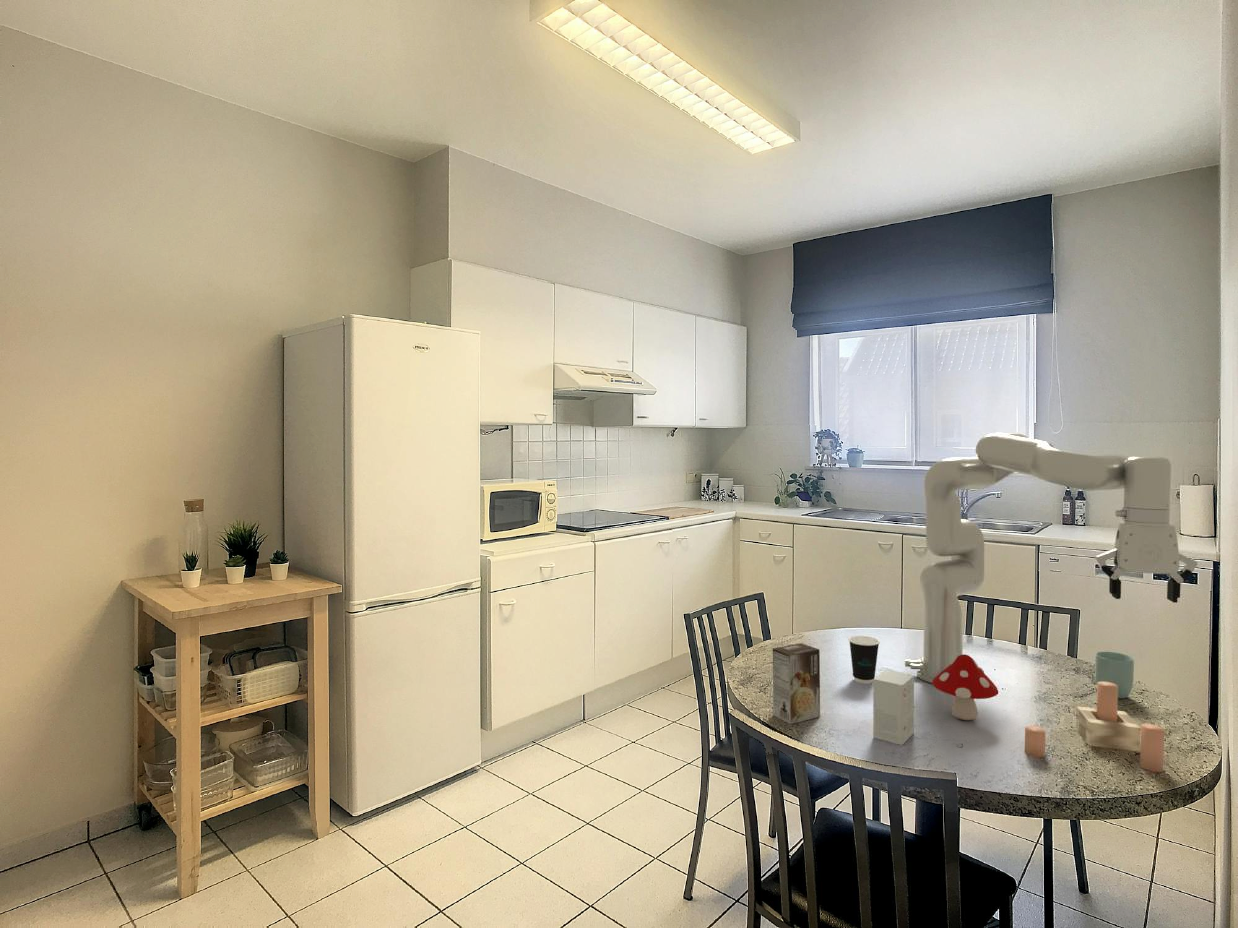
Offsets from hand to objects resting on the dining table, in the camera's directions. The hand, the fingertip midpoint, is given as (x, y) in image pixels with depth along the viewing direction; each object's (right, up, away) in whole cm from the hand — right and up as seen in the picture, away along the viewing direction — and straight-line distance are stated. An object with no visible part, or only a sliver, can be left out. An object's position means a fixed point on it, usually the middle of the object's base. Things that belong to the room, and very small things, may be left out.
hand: (1143, 599), depth 142 cm
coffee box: (-67, -31, +19) cm, 76 cm away
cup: (+16, -30, +31) cm, 46 cm away
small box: (-48, -32, +9) cm, 58 cm away
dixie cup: (-43, -30, +43) cm, 67 cm away
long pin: (-4, -31, +6) cm, 32 cm away
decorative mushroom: (-28, -31, +17) cm, 45 cm away
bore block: (-4, -31, +6) cm, 32 cm away
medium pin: (-4, -32, -7) cm, 33 cm away
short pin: (-23, -32, 0) cm, 39 cm away
